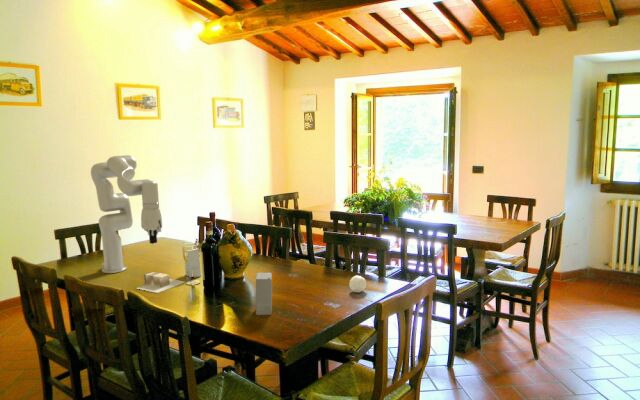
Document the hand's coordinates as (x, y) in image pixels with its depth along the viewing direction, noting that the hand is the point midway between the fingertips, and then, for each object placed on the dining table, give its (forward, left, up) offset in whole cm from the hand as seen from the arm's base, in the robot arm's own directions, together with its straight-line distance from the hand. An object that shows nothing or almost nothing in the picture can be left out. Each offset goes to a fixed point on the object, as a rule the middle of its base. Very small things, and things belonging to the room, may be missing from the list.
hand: (153, 242), depth 233 cm
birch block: (-5, 0, -19) cm, 19 cm away
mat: (+3, 0, -21) cm, 22 cm away
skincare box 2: (+70, -6, -22) cm, 74 cm away
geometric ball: (+95, +33, -22) cm, 103 cm away
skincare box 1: (+6, +19, -22) cm, 29 cm away
